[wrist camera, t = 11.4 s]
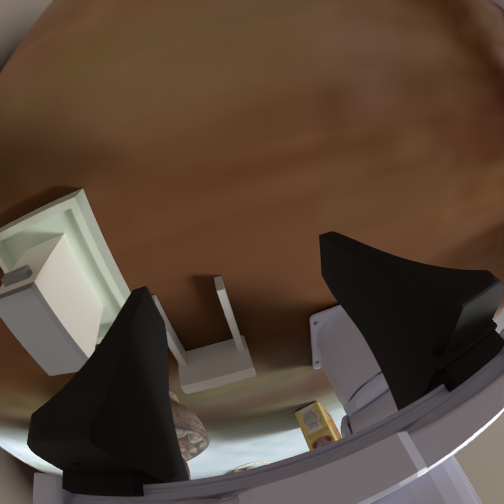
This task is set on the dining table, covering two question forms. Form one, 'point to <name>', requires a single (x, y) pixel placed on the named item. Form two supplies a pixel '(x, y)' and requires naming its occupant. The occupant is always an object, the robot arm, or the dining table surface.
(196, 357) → the bay
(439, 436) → the robot arm
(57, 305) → the block
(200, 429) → the pottery
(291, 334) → the dining table surface
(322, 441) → the candy box
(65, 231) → the tray
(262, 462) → the white headphones
